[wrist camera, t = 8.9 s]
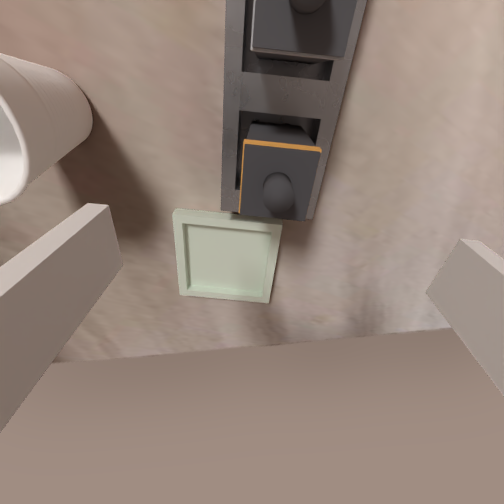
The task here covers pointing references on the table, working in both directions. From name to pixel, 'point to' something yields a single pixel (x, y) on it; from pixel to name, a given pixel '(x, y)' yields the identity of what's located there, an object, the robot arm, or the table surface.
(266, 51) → the twin plug
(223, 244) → the tray
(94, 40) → the table surface
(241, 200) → the plug
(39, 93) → the cup
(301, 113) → the strip
